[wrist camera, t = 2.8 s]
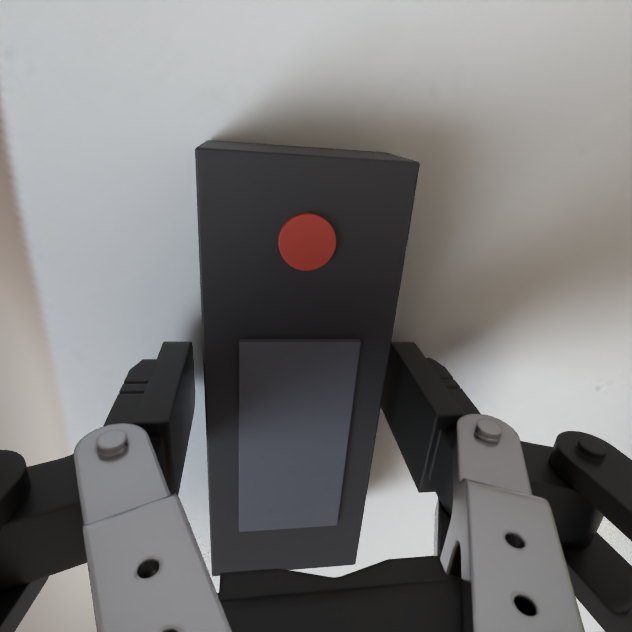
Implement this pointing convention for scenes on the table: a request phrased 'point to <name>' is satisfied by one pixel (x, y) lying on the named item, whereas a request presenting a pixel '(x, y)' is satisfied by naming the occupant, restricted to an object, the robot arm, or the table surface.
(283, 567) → the remote
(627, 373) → the table surface
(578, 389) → the table surface
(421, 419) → the robot arm
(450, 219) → the table surface
